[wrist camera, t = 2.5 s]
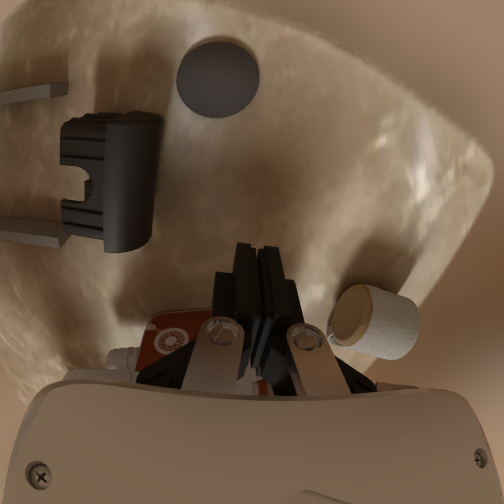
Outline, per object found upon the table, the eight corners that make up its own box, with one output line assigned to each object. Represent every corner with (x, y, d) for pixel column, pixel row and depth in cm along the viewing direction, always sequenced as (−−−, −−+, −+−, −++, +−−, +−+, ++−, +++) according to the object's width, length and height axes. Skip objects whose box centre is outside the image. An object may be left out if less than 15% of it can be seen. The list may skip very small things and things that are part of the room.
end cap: (160, 220, 27) (141, 260, 21) (92, 209, 26) (60, 245, 20) (173, 113, 22) (152, 124, 16) (96, 107, 21) (56, 118, 15)
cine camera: (106, 305, 32) (52, 459, 15) (271, 291, 32) (299, 478, 15) (132, 354, 37) (103, 489, 20) (274, 346, 37) (295, 498, 20)
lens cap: (250, 121, 23) (251, 122, 22) (174, 112, 22) (171, 114, 21) (264, 49, 20) (265, 47, 19) (184, 40, 19) (182, 38, 18)
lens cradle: (72, 233, 27) (59, 248, 24) (-16, 223, 25) (-30, 235, 22) (68, 81, 19) (50, 83, 16) (-28, 99, 17) (-46, 104, 15)
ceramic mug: (354, 267, 31) (379, 317, 25) (404, 285, 33) (431, 330, 26) (308, 331, 36) (320, 382, 30) (358, 341, 38) (374, 387, 32)
